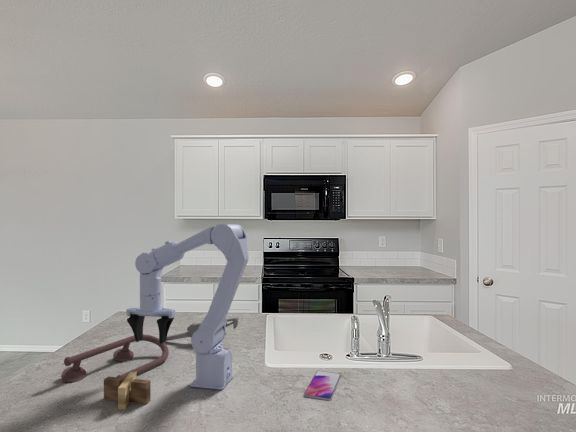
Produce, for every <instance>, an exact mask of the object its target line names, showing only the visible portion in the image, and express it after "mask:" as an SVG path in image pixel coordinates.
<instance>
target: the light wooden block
mask: <svg viewBox="0 0 576 432" xmlns="http://www.w3.org/2000/svg"><path fill="white" fill-rule="evenodd" d="M137 376H138V375H137V372H130V373H129V374H128V376H127V377H126V378H125V380H124V381H123V382H122V384H121V385H120V386H119V388H118V401H117V410H126V409H127V407H128V406H129V404H130V402H129V392H130V390H131V381H133V380H134V379H138V377H137Z"/></svg>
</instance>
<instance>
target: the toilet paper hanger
mask: <svg viewBox="0 0 576 432" xmlns="http://www.w3.org/2000/svg"><path fill="white" fill-rule="evenodd" d="M135 342H136V340H135V336H134V335H131V336H128V337H124V338H122V339H119V340H117V341H113V342H110V343H107V344H105V345H101V346H98V347H95V348H92V349H90V350H87V351H84V352H81V353H78V354H75V355H72V356H67V357H64V360H63V364H64V365H65V366H66V368H64V369H63V371H62V372H61V376H60V377H61V379H62V380H63V382H66V383H69V384H71V383H76V382H80V381H82V380H83V379H85V378H86V376H87V371H86V369H85V368H84V367H81V364H82V361H84V360H87V359H89V358H92V357H95V356H98V355H101V354H102V353H106V352H108V351H112V350H114V352H113V356H112V357H113V359H114V360H115V361H117V362H118V363H119V362H120V363H125V362H129V361H131V360H133V358H134V352H133V351H132V350H131V349H129V347H130V345H131V343H135ZM141 342H147V343H152V344H155V345H156V346H158V347H159V348H160V350H161V356H159V357H158V358H156V359H154V360H152V361H150V362H148V363H145V364H143V365H140V366H138V367H136V368H133V369H131V370H129V371H127V372H125V373H122V374H117V376H116V377H119V378H123V381H124V380H125V378H126V377H127V376H128V374H129V373H130V372H137V376H139V375H140V374H143V373H145V372H147V371H150V370H152V369H154V368H156V367H158V366H160V365H162V364H163V363H165V362H166V360H167V359H168V358H169V350H170V349H169V347H168V346H167V344H166V343H165V342H164V343H163V344H160V342H159V337H157V336H155V335H150V334H143V338H142V340H141ZM121 347H122V348H121ZM71 365H72V366H71ZM69 366H70V367H69Z"/></svg>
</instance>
